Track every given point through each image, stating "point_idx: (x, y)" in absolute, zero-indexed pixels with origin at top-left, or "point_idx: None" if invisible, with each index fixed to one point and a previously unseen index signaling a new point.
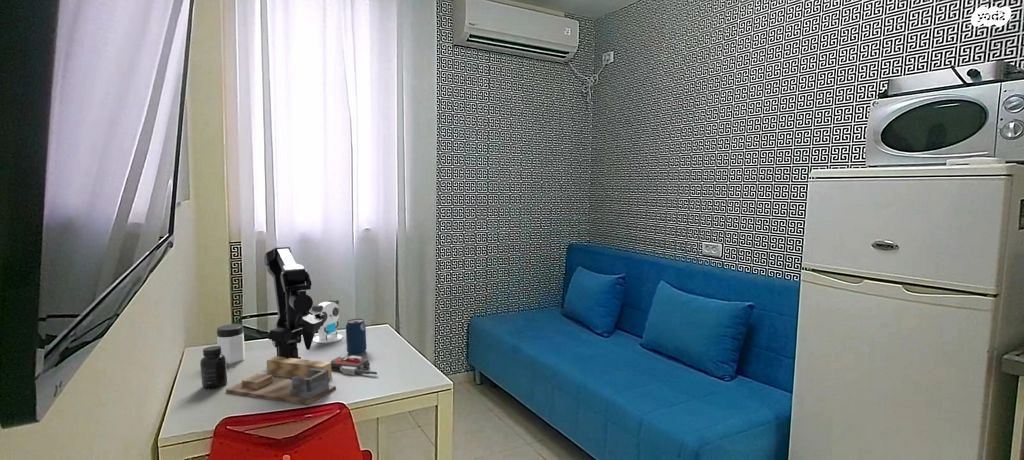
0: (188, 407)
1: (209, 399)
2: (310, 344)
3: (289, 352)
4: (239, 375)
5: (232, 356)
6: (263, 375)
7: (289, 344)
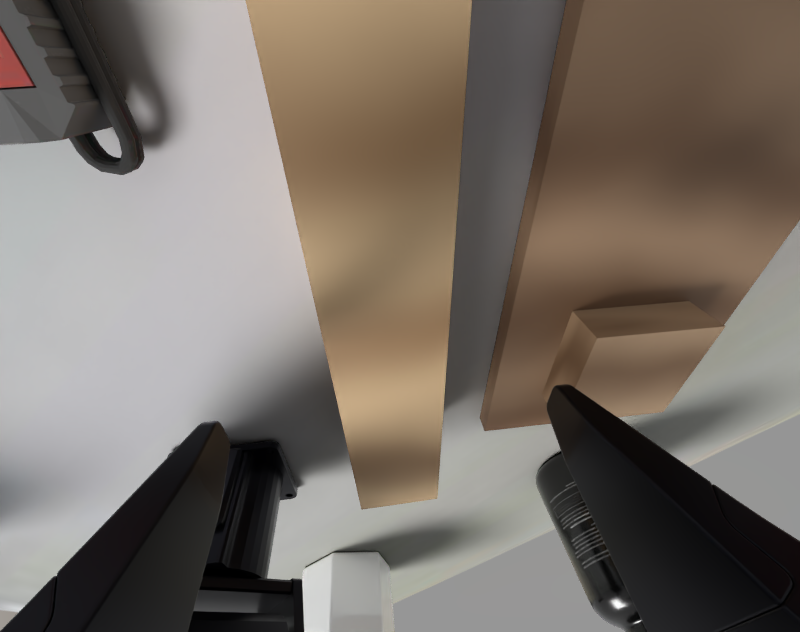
0: (784, 394)
1: (717, 394)
2: (162, 481)
3: (614, 440)
4: (465, 478)
5: (372, 581)
6: (594, 380)
7: (775, 585)
